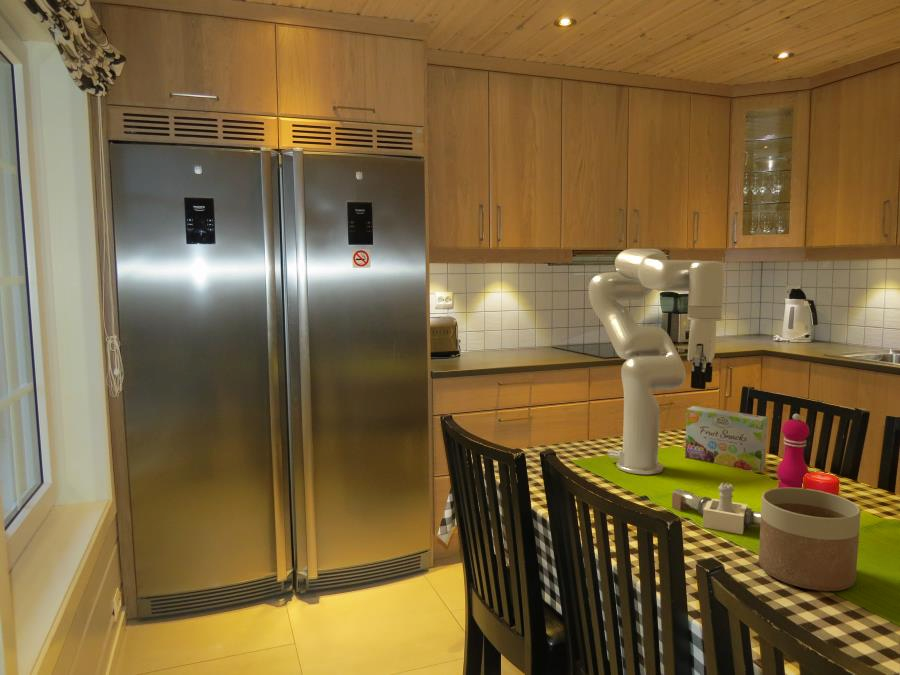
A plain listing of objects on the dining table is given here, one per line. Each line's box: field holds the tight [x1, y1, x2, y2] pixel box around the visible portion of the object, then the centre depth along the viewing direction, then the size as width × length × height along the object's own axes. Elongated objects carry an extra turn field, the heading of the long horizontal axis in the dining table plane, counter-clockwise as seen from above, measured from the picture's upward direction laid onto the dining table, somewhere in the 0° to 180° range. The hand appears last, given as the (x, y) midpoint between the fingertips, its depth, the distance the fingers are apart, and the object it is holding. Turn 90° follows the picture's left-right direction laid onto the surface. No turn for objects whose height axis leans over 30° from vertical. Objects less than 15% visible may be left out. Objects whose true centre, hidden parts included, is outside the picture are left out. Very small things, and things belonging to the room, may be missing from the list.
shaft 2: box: [744, 507, 761, 528], centre depth 140 cm, size 9×4×4 cm, turn 60°
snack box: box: [684, 405, 769, 473], centre depth 188 cm, size 21×6×15 cm, turn 49°
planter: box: [758, 487, 862, 592], centre depth 121 cm, size 16×16×14 cm
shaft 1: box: [671, 488, 712, 515], centre depth 152 cm, size 9×4×4 cm, turn 30°
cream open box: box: [702, 498, 748, 535], centre depth 144 cm, size 8×8×4 cm
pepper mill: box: [776, 413, 810, 488], centre depth 164 cm, size 7×7×20 cm
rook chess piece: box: [716, 482, 735, 513], centre depth 144 cm, size 4×4×8 cm
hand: (701, 385), depth 156 cm, fingers open, 9 cm apart
